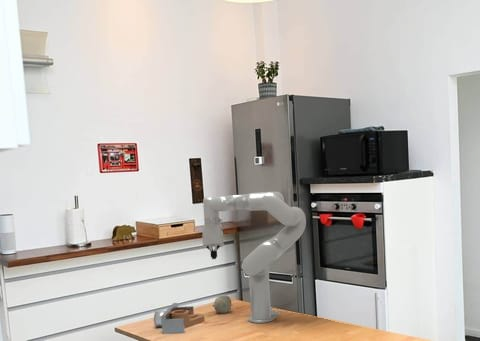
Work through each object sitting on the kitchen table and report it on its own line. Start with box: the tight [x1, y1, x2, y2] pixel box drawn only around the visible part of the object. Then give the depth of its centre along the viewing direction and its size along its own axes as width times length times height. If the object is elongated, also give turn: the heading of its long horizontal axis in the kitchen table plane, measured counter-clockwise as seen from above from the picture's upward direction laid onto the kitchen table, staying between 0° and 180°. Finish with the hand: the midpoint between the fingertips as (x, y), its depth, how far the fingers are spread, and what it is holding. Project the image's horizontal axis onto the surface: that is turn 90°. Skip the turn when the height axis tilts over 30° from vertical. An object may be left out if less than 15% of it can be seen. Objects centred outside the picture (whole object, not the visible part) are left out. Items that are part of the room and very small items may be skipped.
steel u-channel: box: [153, 302, 195, 335], centre depth 228 cm, size 16×24×8 cm, turn 175°
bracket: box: [171, 310, 205, 329], centre depth 231 cm, size 18×8×7 cm, turn 139°
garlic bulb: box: [212, 294, 232, 314], centre depth 247 cm, size 9×8×10 cm
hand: (214, 258), depth 239 cm, fingers closed
